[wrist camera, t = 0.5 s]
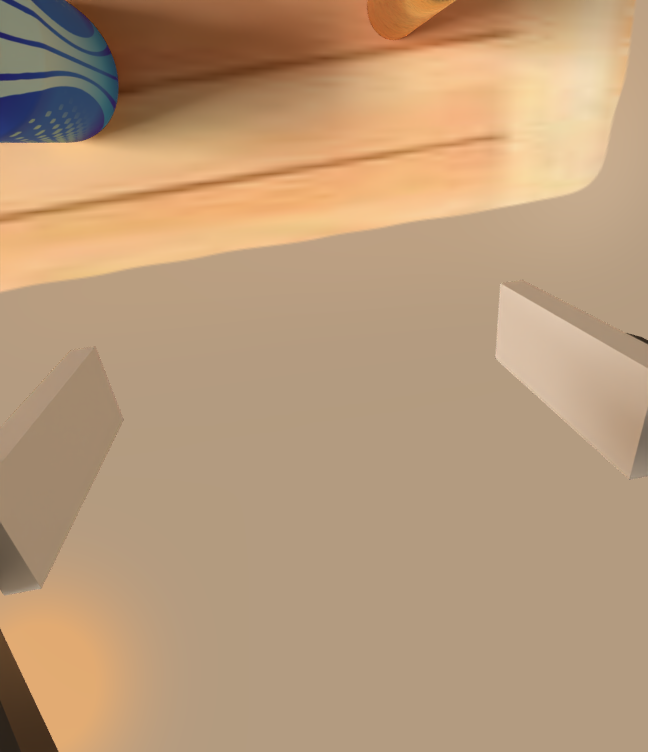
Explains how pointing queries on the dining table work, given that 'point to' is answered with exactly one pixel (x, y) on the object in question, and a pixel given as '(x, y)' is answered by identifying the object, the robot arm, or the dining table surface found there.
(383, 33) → the brass pin
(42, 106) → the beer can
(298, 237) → the dining table surface
